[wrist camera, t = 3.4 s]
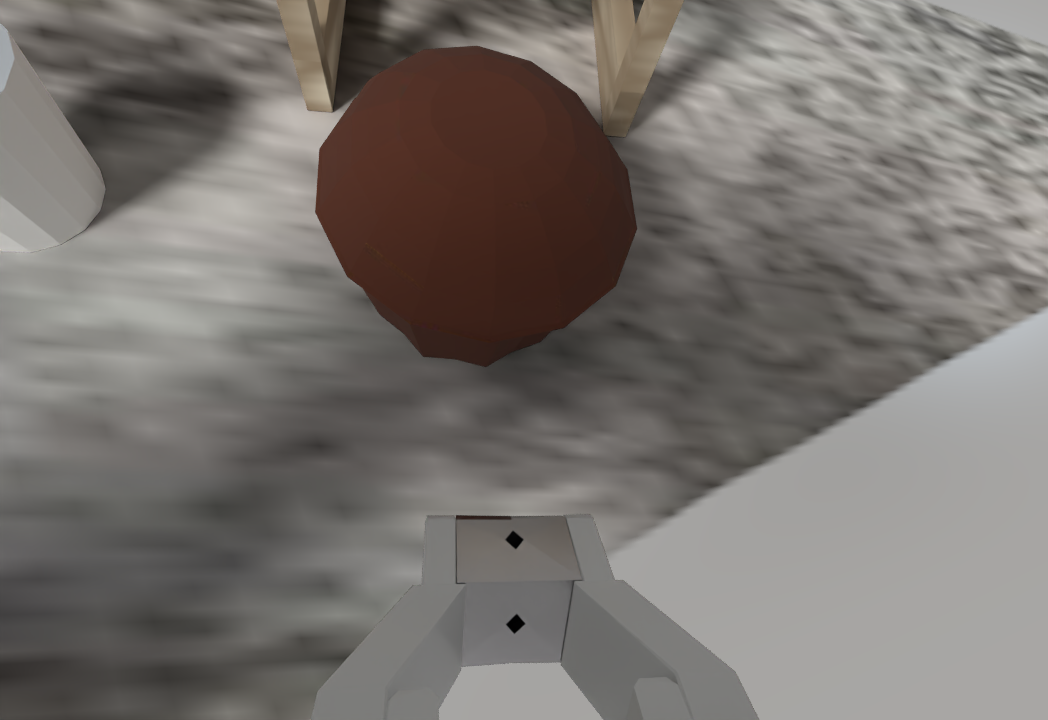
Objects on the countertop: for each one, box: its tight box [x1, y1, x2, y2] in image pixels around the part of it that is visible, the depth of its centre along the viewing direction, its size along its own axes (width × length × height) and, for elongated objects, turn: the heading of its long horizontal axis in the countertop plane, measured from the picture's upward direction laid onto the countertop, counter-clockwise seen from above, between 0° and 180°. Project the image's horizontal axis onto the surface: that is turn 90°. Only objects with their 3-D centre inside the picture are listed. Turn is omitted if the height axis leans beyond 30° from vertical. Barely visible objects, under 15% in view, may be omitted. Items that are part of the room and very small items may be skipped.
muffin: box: [315, 46, 637, 367], centre depth 22 cm, size 12×11×10 cm
